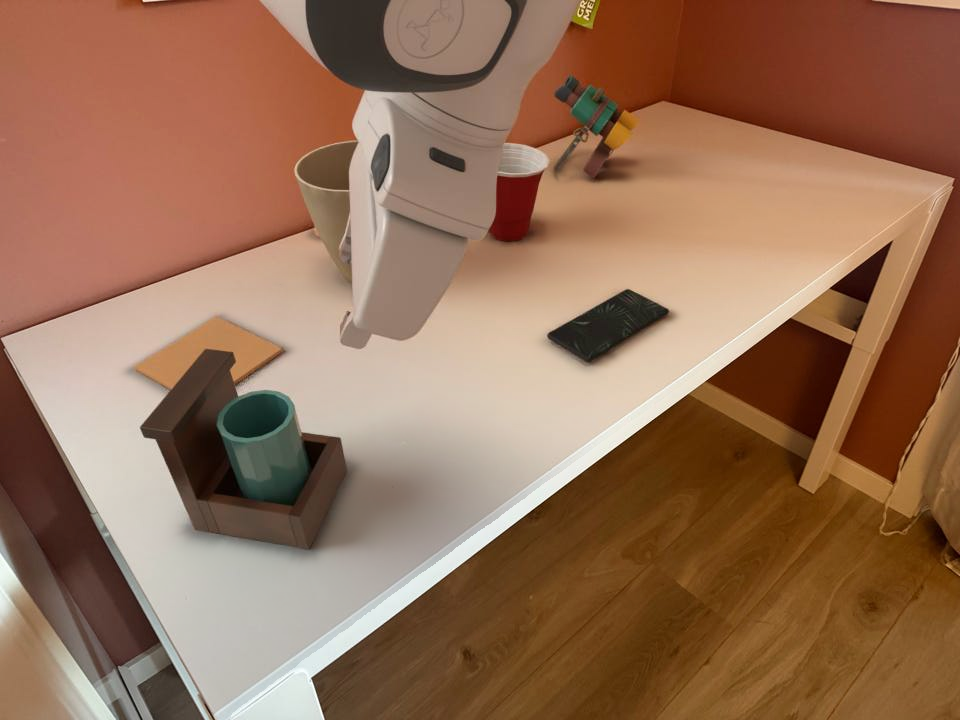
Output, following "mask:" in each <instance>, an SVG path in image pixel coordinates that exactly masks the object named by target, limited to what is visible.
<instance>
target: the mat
mask: <svg viewBox="0 0 960 720" xmlns="http://www.w3.org/2000/svg"><path fill="white" fill-rule="evenodd" d="M205 349H213V350H221V351H229V352H233V353H234V356H235V360H236V363H235V364H234V365H233V367H232V368H231V369H230V372H231V375H232V378H233V381H234V384H235V385H236V384H239V382H242V380H244V379H246V378H247V377H248V376H250V375H251V374H253V373H254V372H256V371H257V370H259V369H260V368H261V367H263V366H264V365H265V364H267V363H269V362H270V361H271V360H272V359H273V360H274V358H276V357H277V356H278V355H280V354H282V353H283V352H284V351H283V348H282V347H280V346H278V345H276V344H274V343H272V342H270V341H268V340H266V339H264V338H262V337H260V336H257V335H256V334H253V333H251V332H249V331H248V330H246V329H243V328H241V327H239V326H237V325H235V324H233V323H231V322H229V321H227V320H224V319H223V318H221V317H218V316H215V317H213V318H212V319H211V320H209V321H207V322H205V323H204V324H202V325H201V326H199V327H197V328H196V329H194V330H192V331H191V332H189V333H187V334H186V335H184V336H183V337H181V338H179V339H177V340H176V341H174V342H173V343H171V344H169V345H168V346H167V345H166V347H164V348H163V349H161V350H159V351H158V352H156V353H154V354H153V355H151V356H150V357H147V358H146V359H145V360H143V361H141V362H139V363H138V364H136V365H135V366H133V368H134V370H135V371H136V372H138V373H140V374H141V375H143V376H145V377H147V378H149V379H150V380H152V381H153V382H155V383H157V384H158V385H160V386H162V387H163V388H165V389H168V390H169V391H170V390H171V389H172V388H173V387H174V386H175V384H176V383H177V382H178V381H179V380H180V378H181V377H182V376H183V375H184V374H185V372H186V371H187V370H188V369H189V368H190V366H191V365H192V364H193V363H194V362H195V360H196V359H197V358H198V357H199V356H200V354H201V353H202V352H203V351H204V350H205Z"/></svg>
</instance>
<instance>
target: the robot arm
mask: <svg viewBox="0 0 960 720" xmlns="http://www.w3.org/2000/svg"><path fill="white" fill-rule="evenodd" d="M258 1H259V2H260V3H261V4H262V5H263V6H264V7H265V9H267V10H268V12H269V13H270V14H271V15H272V16H273V17H274V18H275V19H276V20H277V22H278V23H279V24H280V25H281V26H282V27H283V28H284V29H285V31H287V32H288V34H289V35H290V36H291V37H292V38H293V39H294V40H295V41H296V42H297V43H298V44H299V45H300V46H301V47H302V48H303V49H304V50H305V51H306V52H307V53H308V54H309V55H310V56H311V57H312V59H313V60H315V61H316V62H317V63H318V64H319V65H320V66H321V67H322V68H323V69H325V70H327V71H328V72H330V74H332V75H333V76H334V77H336V78H337V79H338V80H340V81H342V82H343V83H345V84H346V85H349V86H351V87H353V88H357V89H359V90H363V91H364V92H363V94H362V96H361V99H360V101H359V104H358V106H357V108H356V111H355V113H354V116H353V118H352V121H351V127H352V131H353V135H354V136H355V138H356V141H357V140H358V141H359V142H358V145H357V147H356V149H355V151H354V154H353V157H352V160H351V163H350V168H349V190H350V214H349V218H348V222H347V227H346V231H345V234H344V237H343V239H342V241H341V244H340V246H339V258H340V261H341V262H342V263H345V264H350V265H351V266H352V283H351V285H352V286H351V287H352V290H351V291H352V310H351V311H349V310H346V312H345V314H344V317H343V319H342V322H341V323H340V325H339V343H340V344H341V345H342V346H346V347H349V348H353V349H356V350H361V349H364V348H365V347H366V346H367V344H368V342H369V341H370V339H371V337H372V335H375V336H379V337H383V338H387V339H390V340H394V341H398V342H403V341H407V340H410V339H412V338H413V337H416V335H417V334H419V333H420V332H421V330H422V329H423V327H424V326H425V325H426V324H427V321H428V320H429V318H430V317H431V315H432V314H433V313H434V311H435V309H436V308H437V306H438V305H439V303H440V301H441V300H442V299H443V297H444V295H445V293H446V292H447V290H448V289H449V287H450V285H451V283H452V282H453V280H454V278H455V277H456V275H457V273H458V271H459V269H460V267H461V265H462V262H463V260H464V258H465V254H466V251H467V248H468V247H467V246H468V240H473V241H476V242H479V241H482V240H483V239H484V238H485V236H486V235H487V234H488V232H489V229H490V227H491V225H492V223H493V221H494V218H495V214H496V183H497V173H498V168H499V164H500V160H501V157H502V154H503V148H502V146H503V144H504V143H506V141H507V139H508V137H509V135H510V134H511V132H512V130H513V128H514V126H515V124H516V123H517V120H518V119H519V115H520V111H521V106H522V102H523V98H524V96H525V93H526V90H527V88H528V86H529V85H530V83H531V81H533V79H534V77H535V76H537V74H538V73H539V72H540V71H541V70H542V69H543V68H544V67H545V66H546V64H548V62H549V61H550V60H551V59H552V57H553V55H554V54H555V52H556V50H557V48H558V46H559V44H560V43H561V41H562V39H563V37H564V35H565V33H566V32H567V30H568V28H569V26H570V24H571V22H572V20H573V18H574V16H575V14H576V12H577V10H578V8H579V6H580V4H581V2H582V0H258Z"/></svg>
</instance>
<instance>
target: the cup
mask: <svg viewBox="0 0 960 720" xmlns="http://www.w3.org/2000/svg"><path fill="white" fill-rule="evenodd" d="M217 428H218V431H219V434H220V437H221V440H222V442H223V445H224V448H225V451H226V454H227V457H228V459H229V462H230V465H231V468H232V471H233V474H234V476H235V479H236V482H237V485H238V488H239V490H240V493H241V496H242V498H245V499H251V500H257V501H263V502H270V503H276V504H282V505H288V506H293V507H294V505H295V503H296V501H297V499H298V497H299V495H300V493H301V492H302V490H303V488H304V486H305V484H306V482H307V480H308V478H309V477H310V475H311V473H312V472H311V469H310V465H309V461H308V457H307V453H306V449H305V445H304V441H303V437H302V433H301V432H302V430H301V426H300V422H299V418H298V414H297V409H296V406H295V403H294V402H293V400H292V399H291V397H290V396H288V395H286V394H285V393H283V392H281V391H278V390H270V389H262V390H261V389H260V390H253V391H249V392H246V393H244V394H241V395H238V397H236V398H235V399H234V400H232V401H231V402H229V403H228V404H226V405H225V407H224V408H223V409H222V411H221V412H220V413H219V415H218V419H217Z"/></svg>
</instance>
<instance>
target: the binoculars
mask: <svg viewBox="0 0 960 720" xmlns="http://www.w3.org/2000/svg"><path fill="white" fill-rule="evenodd" d="M605 92H606V91H605V89H604V88H603V87H599V88H598V89H597V88H596V87H594V86H593V85H592V84H589V85H588V86H587V87H586V86H584V85H583V84H582V83H580V81H579V79H577V78H576V77H574V76H573V75H572V74H569V75H568V76H567V77H566V79H565V82H564V84H563V85H560V86H559V87H557V89H555V91H554V93H553V97H555V98H556V99H557V100H559V101H560V102H561V103H564V104H566V105H567V106H568V107H570V108H571V110H570V111H569V113H570V115H571V116H572V117H574V118H575V119H576V120H577V121H578V122H579V123H580V124H581V125H583V127H578V128H576V129H575V130H573V135H574V136H575V138H573V140H572V141H571V143H570V144H569V145H568V147H567V148H566V149H565V151H564V152H563V154H562V155H561V156H560V158H559V159H558V160H557V162H556V163H555V165H554V166H553V168H552V169H553V170H555V171H556V172H558V171H560V169H561V167H562V166H563V165H564V164H565V162H566V161H567V160H568V158H569V157H570V156H571V155H572V153H573V152H574V150H575V149H576V148H577V146H579V144H580V143H581V142H582V143H587V142H588V139H589V136H590V135H589V132H590V133H592V134H593V135H594V136H595V137H598V136H599V135H600V136H601V137H602V138H601V140H600V141H599V143H598V144H597V145H596V147H595V148H594V150H593V152H592V154H591V155H590V157H589V158H588V160H587V161H586V163H585V165H584V166H583V169H582V171H583V172H584V173H585V174H587V175H588V176H589V177H591V178H593V179H595V177H596V176H597V174H599V171H600V170H601V168H602V167H603V165H604V163H605V162H606V160H607V159H609V157H610V156H611V155H612V154H613V152H614V151H615V150H617V149H618V148H620V147H622V145H624V144H625V143H626V142H627V141H628V140H629V139H630V138H631V137H632V136H633V134H634V133H633V132H632V130H633V129H635V127H637V126H638V124H639V123H640V122H641V120H639V119H638V118H637V117H635V116H634V115H633V114H631V113H630V112H629V111H627V110H626V109H624V110H623V111H621V110H620V109H618V107H619V105H618V104H617V103H616V102H615V101H614V100H613V99H612V98H610V97H609V96H608V95H605ZM584 135H585V138H583V136H584Z"/></svg>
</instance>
